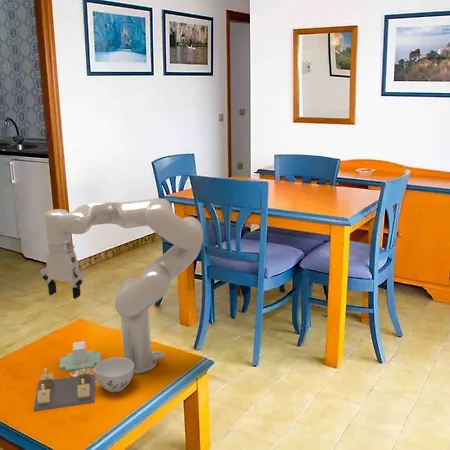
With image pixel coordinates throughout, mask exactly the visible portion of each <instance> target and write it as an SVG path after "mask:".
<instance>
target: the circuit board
mask: <svg viewBox="0 0 450 450" xmlns="http://www.w3.org/2000/svg"><path fill="white" fill-rule="evenodd" d="M86 348H87V347H86V342H85V340H84V341H76V342H73V343H72V352H69V353H66V354H67V355H66V356H61V357H60V360H59V370H61V371H62V370H65V373H68V372H69V371H70V372H77V371H79V370H80V369H82V364H83V363H85V368H86V369H88V368H90V370H92V369H94V368H95V366H96V364H97V363H99V362H100V361H102V360H101V359H102V357H101V356H102V355H101V352H100V351H99V352H95V350H94V349H93V350H86Z"/></svg>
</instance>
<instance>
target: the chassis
mask: <svg viewBox="0 0 450 450" xmlns="http://www.w3.org/2000/svg"><path fill="white" fill-rule="evenodd" d="M43 370H44V371H43V372H44V373H43V374H40V381H38V385H37V390H36V394H35V400H34V405H33V411H34V412H36V411H43V410H51V409H57V408H64V407H71V406H77V405H78V406H79V405H86V404H93V403H95V393H96V392H95V386H96V385H95V380H96V379H95V378H96V375H95V373H92V374H91V369H90V368H88V369H86V368H85V363H83V364H82V369H80V370H78V375H76V376H71V377H69V376H68V377H62V378H57V379H54V373H53V372H51V373H48V372H49V371H48V368H47V367H45V368H44V369H43Z"/></svg>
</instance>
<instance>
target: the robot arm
mask: <svg viewBox="0 0 450 450" xmlns="http://www.w3.org/2000/svg"><path fill="white" fill-rule="evenodd" d="M173 211H174V210H173V206H172V204H171V202H170V201H168V200H167V199H165V198H162V197H161V198H159V197H158V198H151V199H150V198H149V199H142V200H134V201H133V200H132V201H124V202H122V201H121V202H119V201H118V202H114V201H113V202H111V201H109V202H104V201H103V202H95V203H88V204H83V205H80V206H78V207H77V208H75V210H73V211H71V212H68V210H66V209H62V208H57V209H56V208H55V209H51V210H48V211H46V212H45V215H44V219H45V231H46V240H47V249H48V250H47V252H46V267H43V268H42V269H40V271H39V272H40V274H41V275H42V279H44V281H45V284H47V287H48V295H49V296H52V295H54V294H56V293H57V284H56V281H60V282H69V283H70V284H71V285H72V286H73V287H72V288H71V289H72V298H73V299H74V300H76V299H78V298H79V297H81V293H82V292H81V286H82V284H83V283H84V281H85V279H86V276H87V275H86V274H85V273H84V272H83V271H81V270H80V268H79V262H78V258H77V257H78V256H77V253H76V251H75V250H74V249H75V245H74V244H73V243H72V234H73V235H84V234H85V233H87V232H89V230H90V229H91V228H92V226H96V225H97V226H99V225H110V224H112V225H115V226H116V225H117V226H119V227H121V228H124V229H130V228H131V229H132V228H140V227H148V228H150V229H151V230H152V231H153V232H155V233H156V234H157V235H158V236H160V237H162V238H163V239H165V240H166V241H168V242H169V243H171V244H172V246H171V247H170V248H169V249H168V250H167V251H166V252H164V253H163V254H162V255H160V256H159V257H158V258H156V259H155V260H154V261H151V263H149V264H148V265H146V267H145V268H144V270H143V273H142V275H141V276H140V277H129V278H127V279H126V280H125V279H124V281H123V282H122V283H121V285H120V286H119V288H118V292H117V294H116V296H115V298H114V307H115V311H116V313H117V314H118V315H120V324H121V325H120V326H121V327H120V329H121V339H122V348H123V350H122V351H123V358H127V359H130V360H131V361H132V362H133V363H134V371H133V375H134V374H135V375H136V374H143V373H146V372H150V371H151V370H152V369H154V368H155V367H156V366H157V363H158V362H157V360H163V359H166V353H165V352H161V350H159V351H158V350H156V351H154V350H152V343H151V332H150V331H151V328H150V312H149V308H151V307H152V306H153V305H154V304H156V303H157V302H159V301H160V300H161V299H163V297H165V295H166V294H167V293H168V292H169V290H170V287H171V283H172V281H174V279H175V278H176V277H177V276H178V275H180V274H181V273H182V272H183V271H185V270H186V269H187V268H189V266H191V265H192V263H193V262H194V261H195V260H196V259H197V258H198V256H199V254H200V253H201V249H202V245H203V243H204V231H203V227H202V226H203V225H202V224H201V222H200V221H199V219H197V218H196V217H194V216H186V217H184V218H182V217H180V216H179V215H177V214H176V213H174V212H173Z"/></svg>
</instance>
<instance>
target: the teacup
mask: <svg viewBox="0 0 450 450" xmlns="http://www.w3.org/2000/svg"><path fill="white" fill-rule="evenodd" d="M93 369H94V375H95V378H96V379H97V382H98V383H99V385H100V386H101V387H102V388H104V389H105V390H106V391H107V392H109V393H118V392H119V393H120V392H122V391H123V390H124V389H126V387H127V386H128V385H129V384H130V382H131V380H132V378H133V375H134V374H133V371H134V363H133V362H132V361H131V360H130V359H127V358H124V357H110V358H106V359H104V360H103V359H102V360H101V361H100V362H99V363H97V364H96V365H94V368H93Z"/></svg>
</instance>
